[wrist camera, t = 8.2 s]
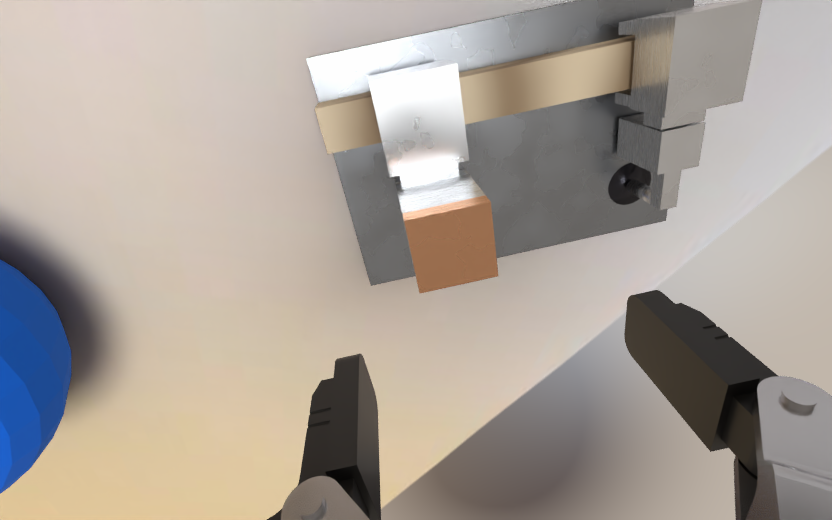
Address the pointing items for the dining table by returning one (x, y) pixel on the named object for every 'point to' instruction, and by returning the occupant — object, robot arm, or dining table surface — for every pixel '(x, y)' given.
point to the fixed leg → (681, 87)
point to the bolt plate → (503, 137)
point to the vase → (29, 373)
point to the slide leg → (434, 174)
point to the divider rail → (498, 90)
